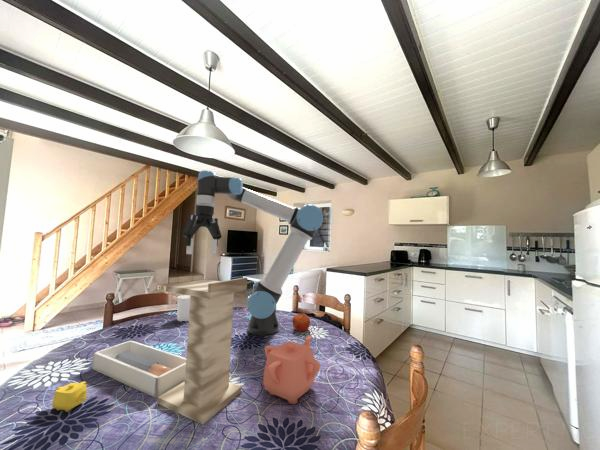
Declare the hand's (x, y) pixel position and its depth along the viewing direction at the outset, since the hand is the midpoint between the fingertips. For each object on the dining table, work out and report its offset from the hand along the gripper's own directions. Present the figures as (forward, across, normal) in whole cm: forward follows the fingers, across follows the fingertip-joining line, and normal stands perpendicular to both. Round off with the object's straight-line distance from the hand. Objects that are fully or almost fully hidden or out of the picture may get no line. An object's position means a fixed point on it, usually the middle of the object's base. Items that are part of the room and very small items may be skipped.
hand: (202, 253), depth 106 cm
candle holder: (+37, -17, -27) cm, 49 cm away
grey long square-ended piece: (+36, +27, +6) cm, 45 cm away
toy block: (+37, +44, +6) cm, 58 cm away
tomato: (+37, -34, +34) cm, 61 cm away
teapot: (+37, +12, +52) cm, 65 cm away
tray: (+37, +27, +6) cm, 46 cm away
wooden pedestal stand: (+37, +27, +32) cm, 55 cm away
